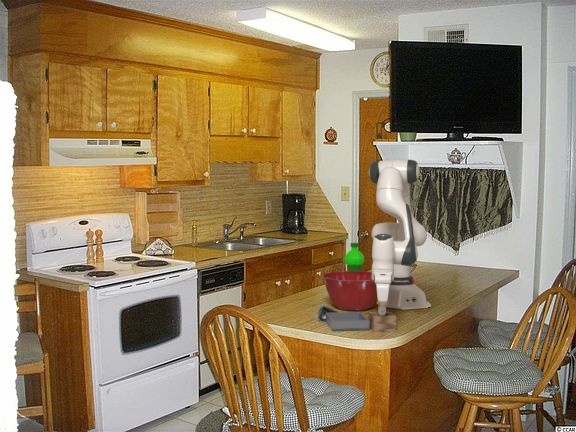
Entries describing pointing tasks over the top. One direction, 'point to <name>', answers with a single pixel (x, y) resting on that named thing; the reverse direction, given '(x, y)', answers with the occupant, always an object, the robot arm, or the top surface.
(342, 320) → the tray
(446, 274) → the top surface
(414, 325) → the top surface
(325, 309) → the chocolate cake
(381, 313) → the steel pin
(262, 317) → the top surface
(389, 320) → the hitch block
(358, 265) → the plastic bottle
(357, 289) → the mixing bowl
